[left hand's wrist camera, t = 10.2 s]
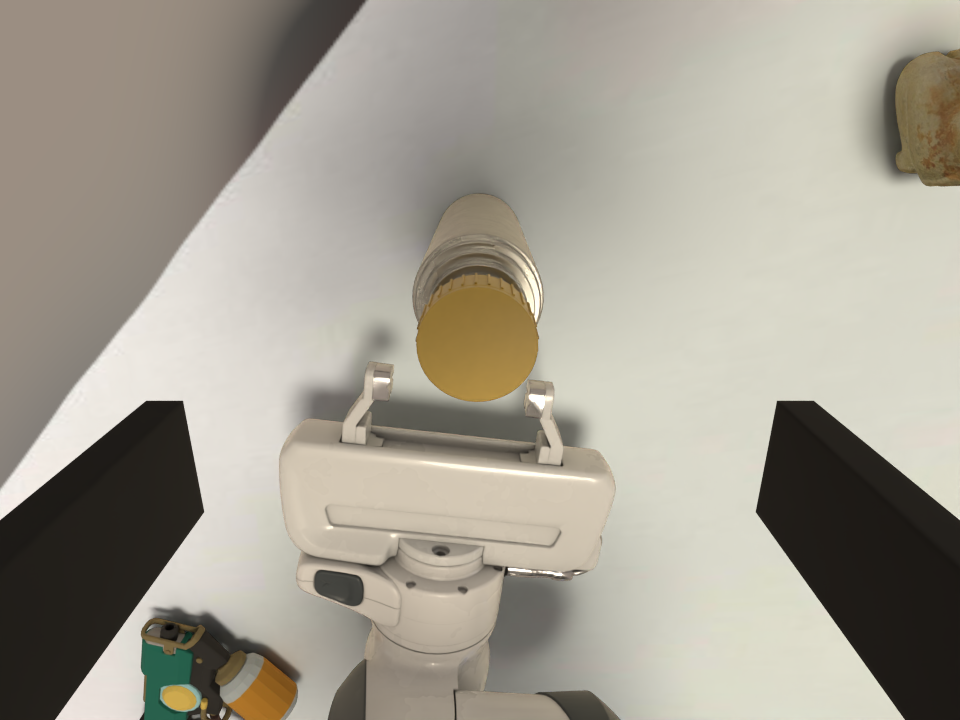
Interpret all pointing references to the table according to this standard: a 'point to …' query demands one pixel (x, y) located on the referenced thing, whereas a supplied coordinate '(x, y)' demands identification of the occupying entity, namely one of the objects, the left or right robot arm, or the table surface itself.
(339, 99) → the table surface
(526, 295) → the bottle
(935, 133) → the sculpture
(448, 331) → the cap
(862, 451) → the left robot arm
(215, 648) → the spray gun
